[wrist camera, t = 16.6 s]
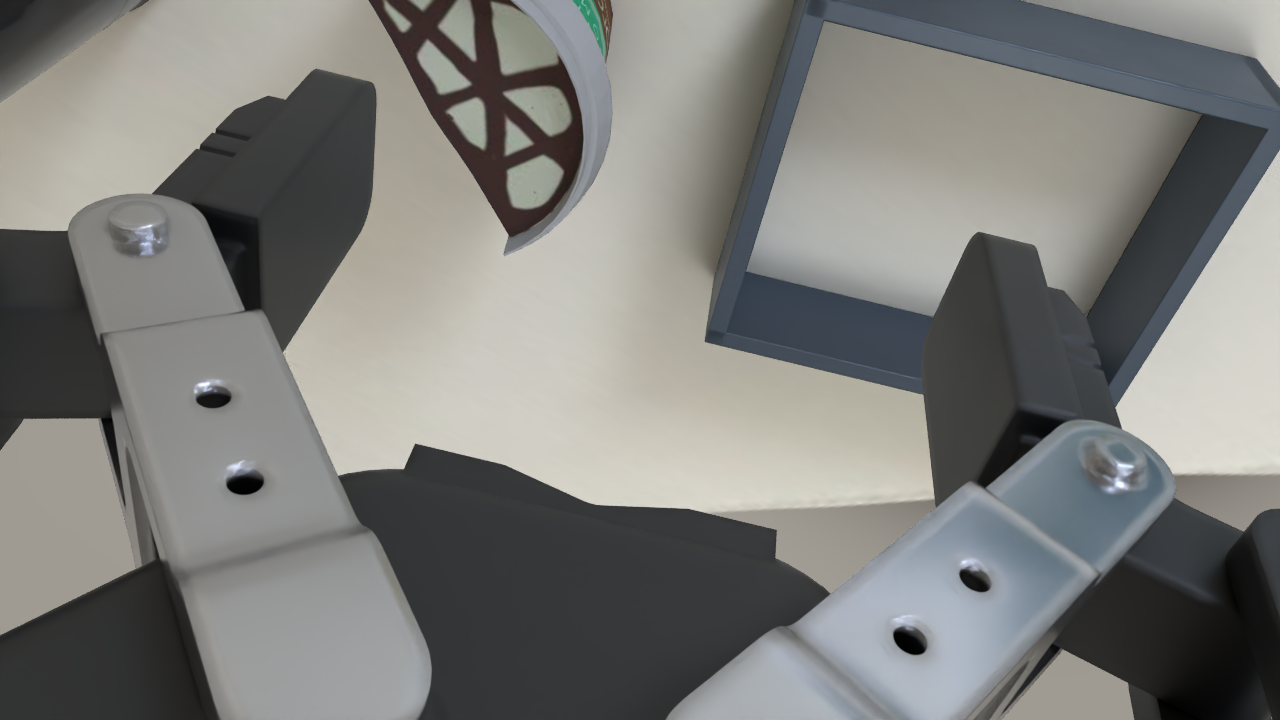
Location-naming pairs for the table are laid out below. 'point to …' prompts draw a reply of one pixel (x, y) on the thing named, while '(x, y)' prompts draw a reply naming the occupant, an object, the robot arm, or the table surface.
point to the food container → (514, 96)
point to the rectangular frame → (1045, 44)
